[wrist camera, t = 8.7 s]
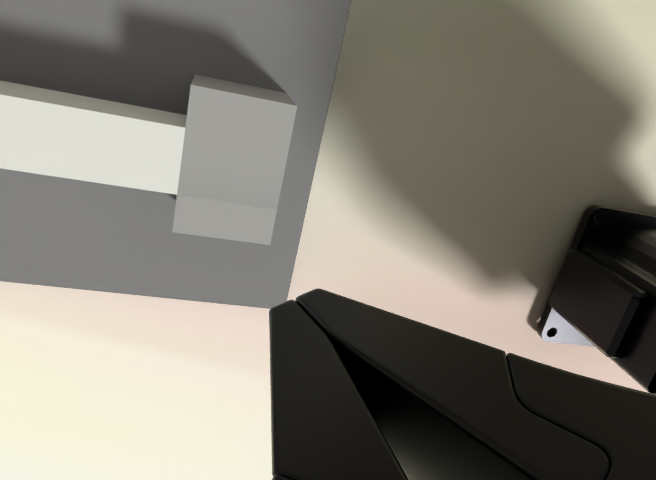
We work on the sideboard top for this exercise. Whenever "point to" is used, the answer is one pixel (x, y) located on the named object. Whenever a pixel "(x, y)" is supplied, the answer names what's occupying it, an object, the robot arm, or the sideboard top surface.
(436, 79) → the sideboard top surface
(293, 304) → the robot arm
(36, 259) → the grey board
